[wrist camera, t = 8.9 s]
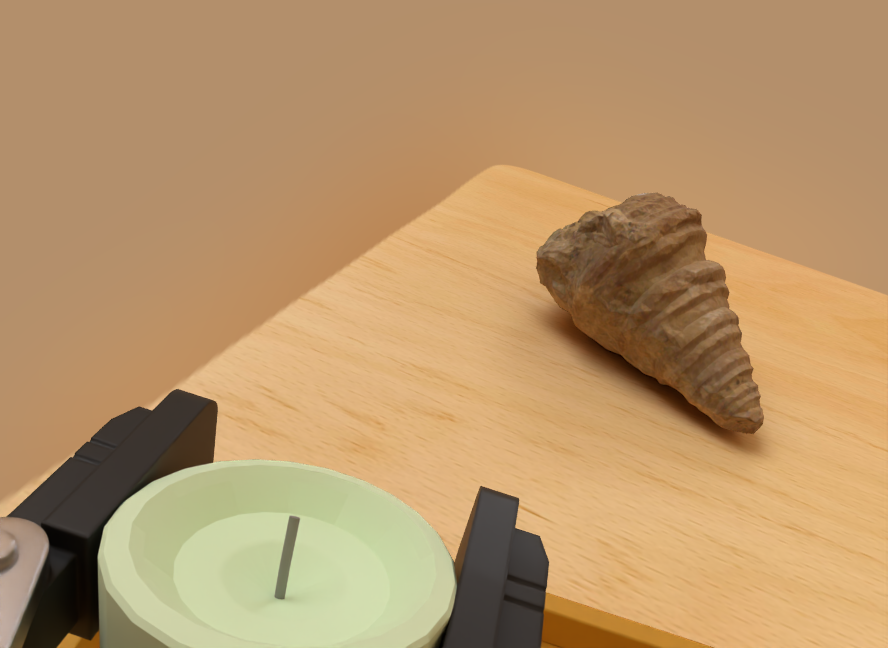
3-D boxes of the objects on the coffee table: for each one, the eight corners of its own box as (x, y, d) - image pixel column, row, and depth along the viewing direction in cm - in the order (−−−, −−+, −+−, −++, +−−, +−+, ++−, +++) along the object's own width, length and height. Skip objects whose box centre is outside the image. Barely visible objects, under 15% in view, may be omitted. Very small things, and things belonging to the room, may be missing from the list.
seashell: (679, 489, 33) (794, 397, 36) (748, 441, 26) (888, 329, 28) (503, 281, 38) (614, 211, 40) (520, 191, 31) (654, 111, 33)
